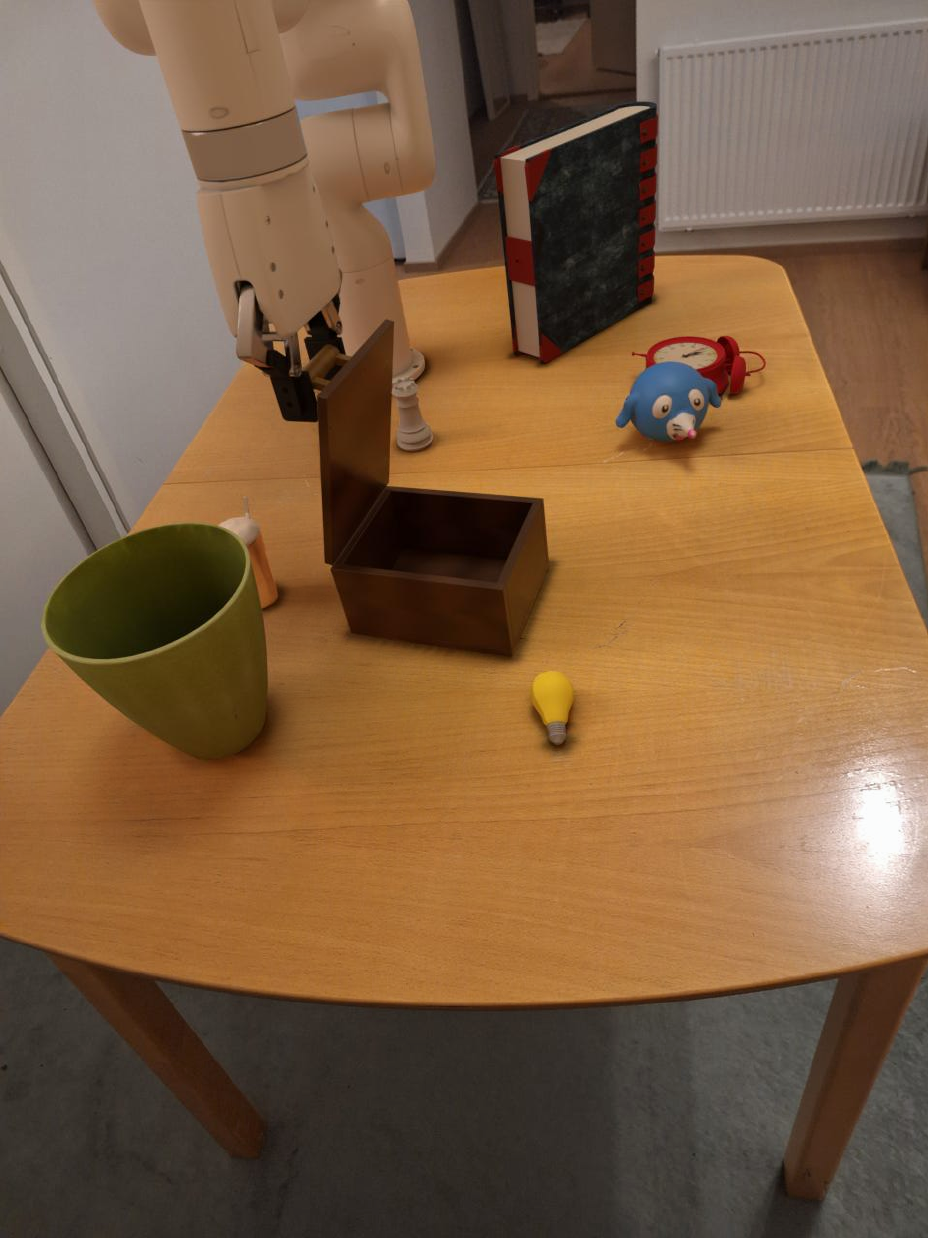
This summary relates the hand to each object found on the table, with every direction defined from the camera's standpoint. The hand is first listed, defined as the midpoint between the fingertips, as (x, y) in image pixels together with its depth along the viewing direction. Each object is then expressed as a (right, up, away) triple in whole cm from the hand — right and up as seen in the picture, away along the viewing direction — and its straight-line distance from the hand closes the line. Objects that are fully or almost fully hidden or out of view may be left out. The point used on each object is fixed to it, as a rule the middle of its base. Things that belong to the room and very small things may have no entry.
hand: (318, 399), depth 65 cm
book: (+30, +24, +50) cm, 63 cm away
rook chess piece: (+6, +3, +33) cm, 34 cm away
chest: (+11, -16, +11) cm, 22 cm away
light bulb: (+19, -26, -1) cm, 32 cm away
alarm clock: (+40, +11, +34) cm, 54 cm away
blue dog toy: (+35, +2, +25) cm, 43 cm away
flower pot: (-9, -27, +3) cm, 28 cm away
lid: (+3, -3, +2) cm, 5 cm away
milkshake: (-8, -16, +15) cm, 23 cm away
